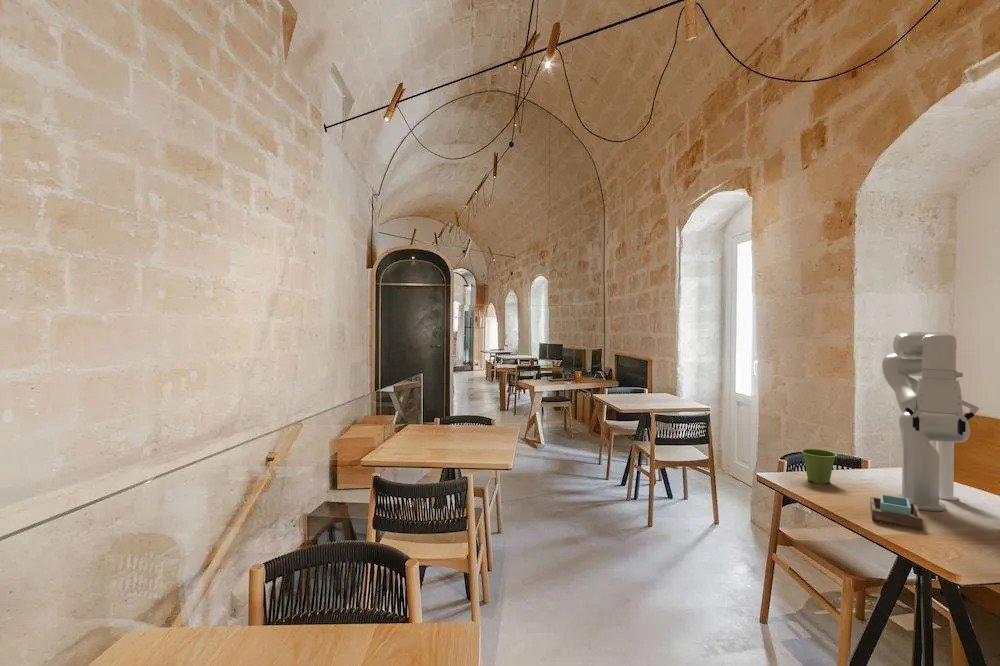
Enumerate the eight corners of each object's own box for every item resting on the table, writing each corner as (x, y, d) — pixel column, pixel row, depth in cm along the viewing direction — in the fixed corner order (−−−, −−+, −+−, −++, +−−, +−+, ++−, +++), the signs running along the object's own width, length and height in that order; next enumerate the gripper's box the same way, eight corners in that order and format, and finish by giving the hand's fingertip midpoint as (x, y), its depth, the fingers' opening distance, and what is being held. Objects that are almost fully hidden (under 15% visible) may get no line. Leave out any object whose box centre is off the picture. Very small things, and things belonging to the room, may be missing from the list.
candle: (930, 492, 175) (931, 423, 175) (957, 496, 171) (958, 426, 171) (931, 497, 170) (932, 426, 170) (959, 502, 165) (960, 429, 165)
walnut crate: (870, 507, 160) (870, 496, 160) (916, 515, 154) (916, 504, 154) (872, 521, 149) (872, 510, 148) (922, 530, 142) (922, 518, 142)
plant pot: (794, 476, 194) (794, 448, 194) (823, 476, 194) (823, 448, 194) (813, 486, 182) (813, 456, 182) (844, 486, 182) (844, 456, 182)
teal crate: (880, 509, 156) (880, 494, 156) (908, 514, 152) (908, 498, 152) (880, 519, 148) (881, 502, 148) (910, 524, 144) (910, 507, 144)
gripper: (975, 376, 143) (975, 433, 143) (900, 372, 153) (899, 426, 153) (981, 378, 137) (981, 438, 137) (902, 374, 147) (902, 430, 147)
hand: (938, 432), depth 145 cm, fingers open, 9 cm apart
